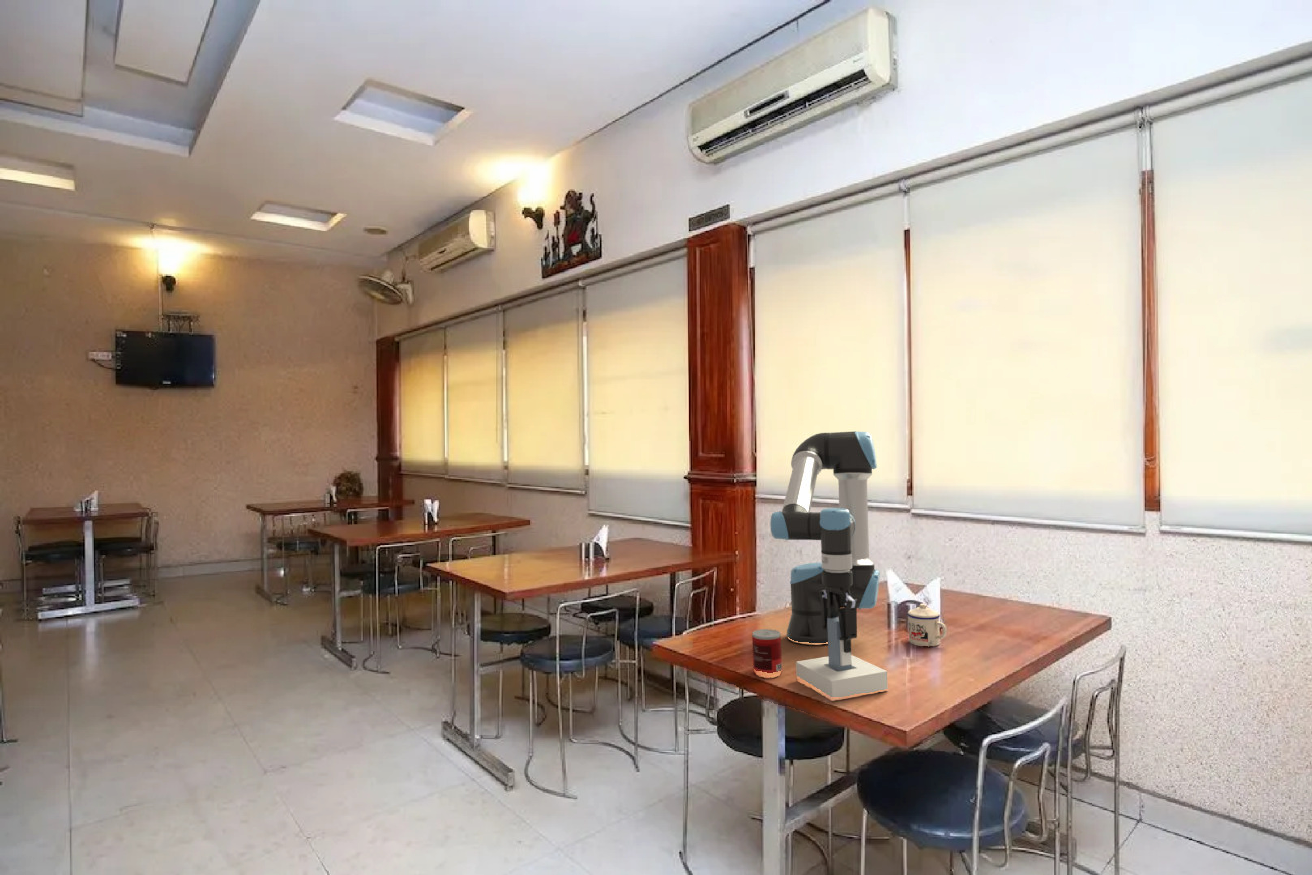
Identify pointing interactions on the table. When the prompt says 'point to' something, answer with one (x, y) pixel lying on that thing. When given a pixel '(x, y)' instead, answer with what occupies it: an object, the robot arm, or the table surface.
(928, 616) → the teacup with lid
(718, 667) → the table surface
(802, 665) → the socket block
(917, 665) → the table surface
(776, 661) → the canned food
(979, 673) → the table surface
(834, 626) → the peg
